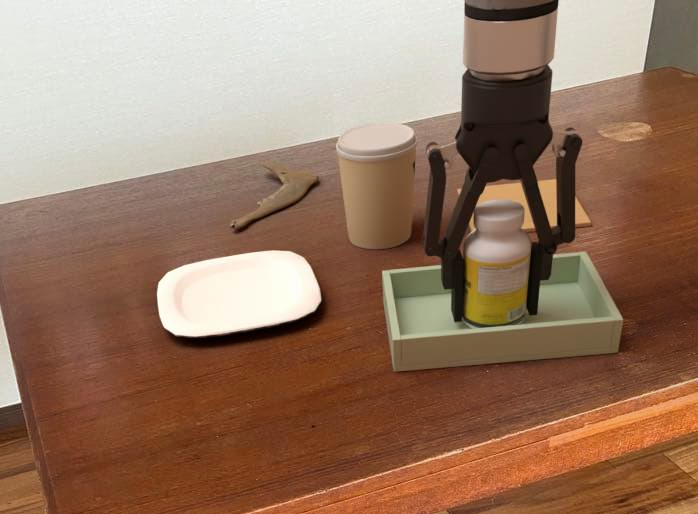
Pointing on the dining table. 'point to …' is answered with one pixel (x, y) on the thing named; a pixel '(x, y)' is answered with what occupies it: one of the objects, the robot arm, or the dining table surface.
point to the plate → (237, 294)
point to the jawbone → (280, 192)
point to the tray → (503, 341)
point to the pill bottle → (496, 266)
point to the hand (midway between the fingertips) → (493, 311)
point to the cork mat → (517, 195)
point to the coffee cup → (378, 183)
